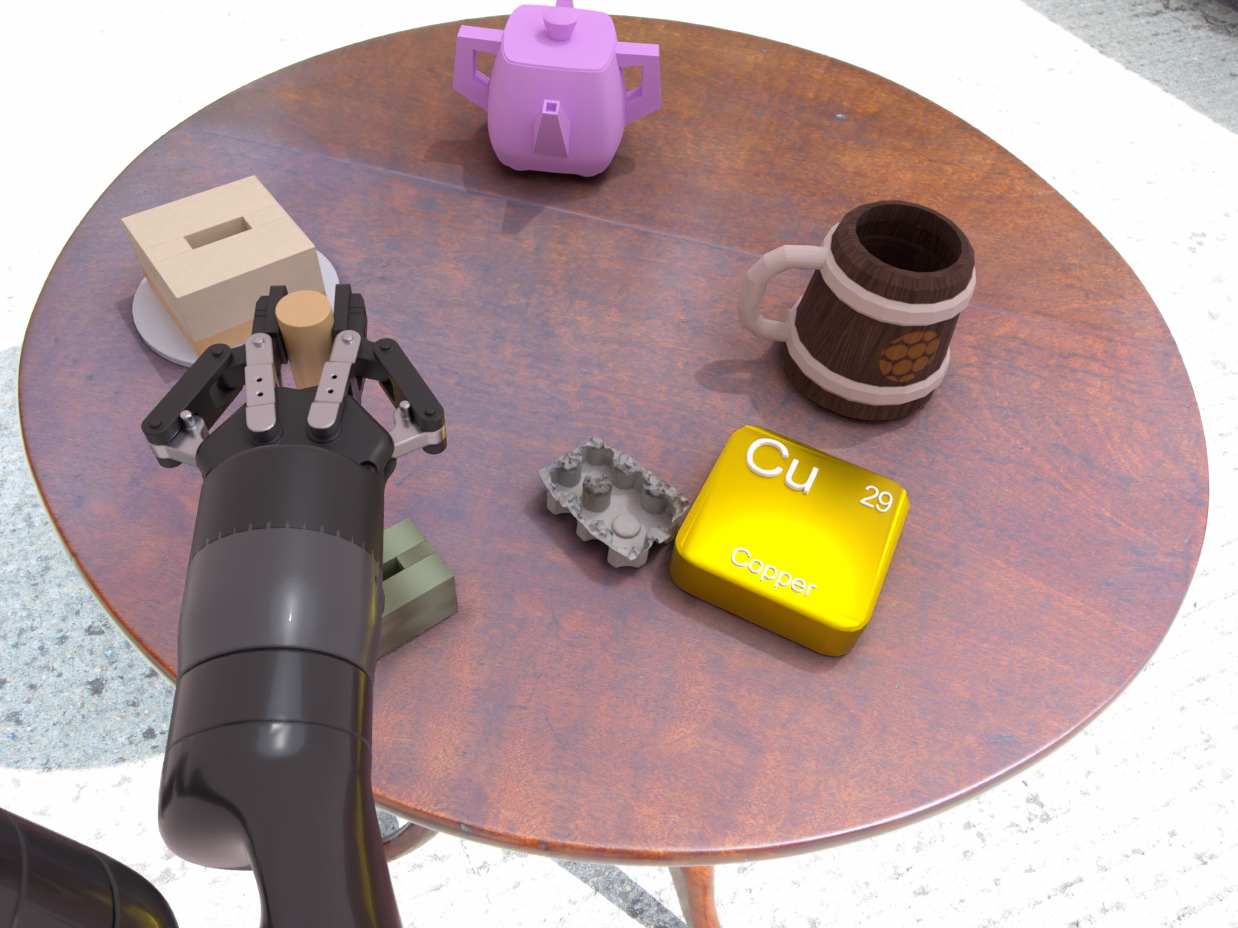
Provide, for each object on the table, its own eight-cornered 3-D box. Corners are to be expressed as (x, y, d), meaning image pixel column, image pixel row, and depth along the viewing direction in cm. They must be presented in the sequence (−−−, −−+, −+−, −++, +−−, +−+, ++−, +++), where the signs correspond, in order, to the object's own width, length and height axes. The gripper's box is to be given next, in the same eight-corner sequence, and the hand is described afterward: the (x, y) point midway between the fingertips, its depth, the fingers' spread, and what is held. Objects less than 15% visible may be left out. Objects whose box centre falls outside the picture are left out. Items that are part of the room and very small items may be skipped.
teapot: (562, 84, 112) (565, -46, 100) (671, 152, 105) (690, 21, 93) (437, 141, 103) (425, 6, 91) (548, 220, 96) (551, 85, 84)
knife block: (346, 678, 63) (334, 644, 59) (305, 615, 66) (291, 579, 62) (458, 610, 67) (454, 575, 63) (416, 553, 70) (409, 516, 66)
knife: (332, 525, 55) (280, 338, 43) (312, 496, 56) (255, 306, 44) (386, 497, 57) (350, 309, 44) (365, 470, 58) (325, 279, 46)
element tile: (659, 582, 70) (666, 548, 66) (731, 448, 78) (741, 411, 75) (846, 668, 67) (866, 637, 63) (900, 518, 75) (919, 484, 72)
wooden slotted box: (200, 359, 79) (176, 298, 73) (147, 281, 84) (120, 218, 79) (329, 307, 84) (315, 246, 78) (270, 236, 89) (254, 174, 84)
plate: (103, 363, 79) (100, 356, 78) (173, 231, 90) (171, 224, 89) (315, 379, 80) (313, 373, 79) (358, 246, 91) (357, 240, 90)
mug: (922, 318, 91) (981, 189, 79) (949, 435, 81) (1021, 309, 70) (723, 300, 90) (752, 167, 78) (727, 415, 81) (761, 285, 69)
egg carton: (689, 533, 73) (697, 503, 70) (620, 585, 69) (625, 557, 66) (600, 450, 77) (604, 419, 74) (530, 496, 74) (531, 465, 70)
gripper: (456, 522, 35) (445, 235, 46) (66, 547, 33) (147, 241, 44) (465, 616, 41) (454, 343, 52) (134, 643, 39) (191, 353, 50)
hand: (313, 298), depth 48 cm, fingers closed on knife, 2 cm apart
